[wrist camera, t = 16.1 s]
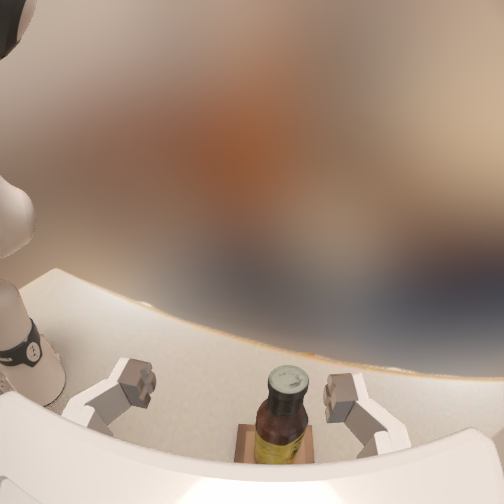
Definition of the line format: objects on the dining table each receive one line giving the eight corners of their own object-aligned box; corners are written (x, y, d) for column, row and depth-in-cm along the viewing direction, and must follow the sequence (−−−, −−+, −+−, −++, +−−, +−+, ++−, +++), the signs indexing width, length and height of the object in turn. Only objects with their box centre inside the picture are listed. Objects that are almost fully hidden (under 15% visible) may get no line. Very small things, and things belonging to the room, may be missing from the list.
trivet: (231, 487, 27) (231, 486, 27) (238, 426, 38) (238, 423, 38) (314, 488, 26) (316, 487, 26) (310, 427, 37) (311, 424, 37)
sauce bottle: (294, 473, 29) (324, 408, 20) (251, 472, 29) (254, 407, 21) (295, 439, 35) (318, 358, 26) (255, 437, 35) (259, 357, 27)
